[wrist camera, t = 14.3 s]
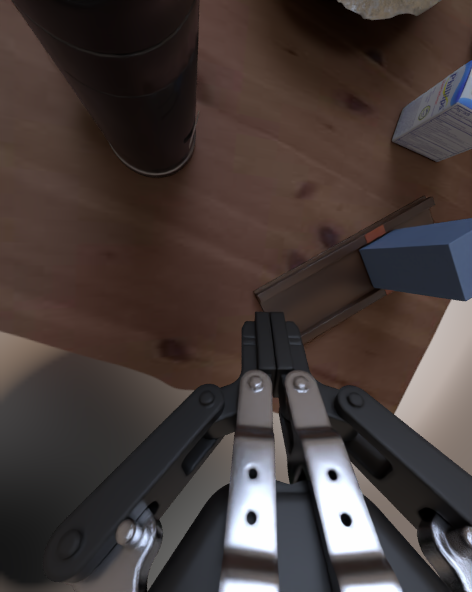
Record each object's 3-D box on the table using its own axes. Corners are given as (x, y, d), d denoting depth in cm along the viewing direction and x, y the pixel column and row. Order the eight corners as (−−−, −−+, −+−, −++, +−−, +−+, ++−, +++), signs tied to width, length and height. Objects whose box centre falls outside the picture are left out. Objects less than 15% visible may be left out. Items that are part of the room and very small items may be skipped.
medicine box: (446, 131, 34) (530, 89, 26) (435, 164, 35) (514, 133, 26) (400, 108, 32) (475, 55, 24) (389, 142, 33) (458, 102, 24)
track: (253, 291, 32) (255, 292, 31) (423, 195, 35) (432, 193, 34) (284, 353, 34) (288, 356, 33) (443, 258, 37) (452, 258, 36)
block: (358, 249, 34) (448, 244, 22) (394, 229, 34) (500, 213, 22) (373, 287, 35) (465, 301, 23) (407, 267, 35) (514, 271, 24)
